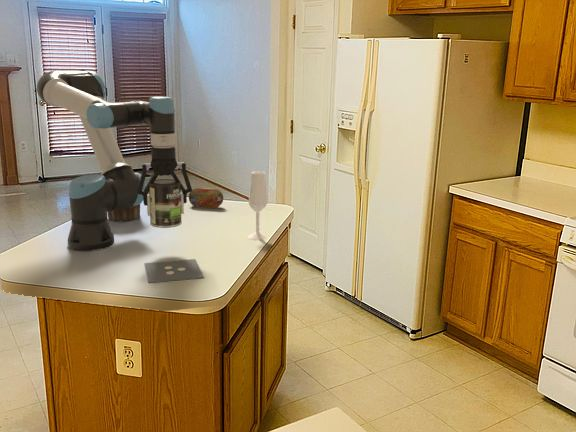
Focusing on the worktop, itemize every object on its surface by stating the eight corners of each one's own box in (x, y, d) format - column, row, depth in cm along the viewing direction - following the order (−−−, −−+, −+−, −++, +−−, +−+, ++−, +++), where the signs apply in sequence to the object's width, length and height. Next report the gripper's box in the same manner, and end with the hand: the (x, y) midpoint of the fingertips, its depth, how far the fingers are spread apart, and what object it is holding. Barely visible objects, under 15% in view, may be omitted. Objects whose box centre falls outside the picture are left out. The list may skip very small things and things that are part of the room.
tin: (188, 206, 248) (188, 187, 246) (191, 205, 251) (190, 186, 249) (222, 209, 246) (222, 190, 244) (224, 207, 249) (224, 188, 247)
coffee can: (188, 222, 190) (187, 181, 187) (166, 230, 182) (165, 186, 178) (165, 217, 196) (164, 177, 192) (143, 224, 187) (141, 182, 183)
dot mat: (148, 283, 165) (148, 282, 165) (144, 264, 180) (144, 263, 180) (203, 278, 170) (203, 276, 170) (195, 259, 185) (195, 258, 185)
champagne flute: (263, 240, 206) (264, 175, 199) (246, 238, 207) (246, 173, 201) (268, 235, 212) (269, 171, 205) (251, 233, 213) (251, 170, 207)
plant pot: (94, 221, 223) (91, 181, 219) (115, 211, 238) (113, 173, 234) (132, 225, 220) (130, 184, 215) (151, 214, 235) (150, 176, 231)
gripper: (126, 149, 175) (130, 219, 181) (200, 147, 182) (201, 214, 188) (125, 145, 182) (129, 212, 188) (196, 143, 189) (198, 208, 195)
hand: (165, 213), depth 188 cm, fingers closed on coffee can, 10 cm apart
